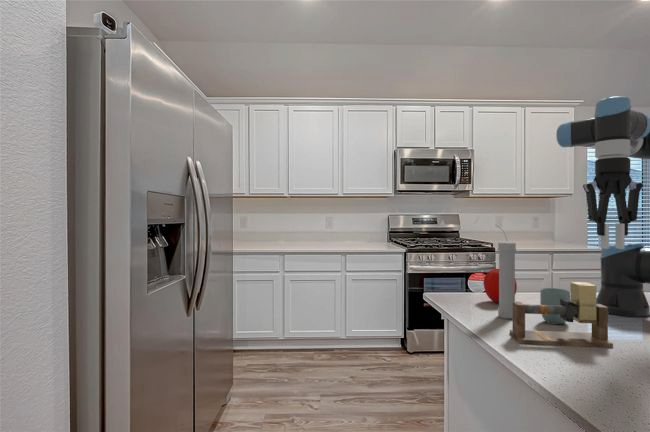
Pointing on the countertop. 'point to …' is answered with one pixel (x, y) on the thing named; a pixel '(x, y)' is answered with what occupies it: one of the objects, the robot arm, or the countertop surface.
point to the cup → (553, 302)
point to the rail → (559, 338)
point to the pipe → (506, 278)
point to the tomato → (493, 285)
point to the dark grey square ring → (569, 310)
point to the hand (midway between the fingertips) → (612, 248)
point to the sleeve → (584, 301)
